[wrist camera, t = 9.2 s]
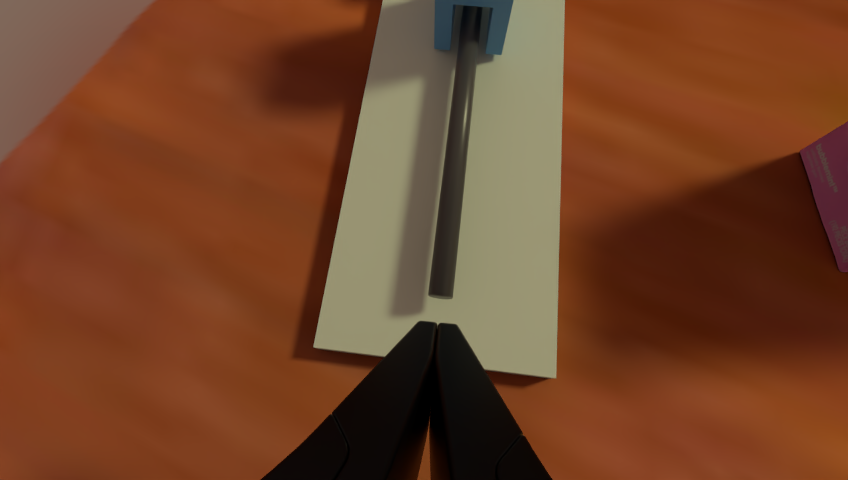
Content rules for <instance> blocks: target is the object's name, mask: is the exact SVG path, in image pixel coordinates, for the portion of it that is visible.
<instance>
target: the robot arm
mask: <svg viewBox="0 0 848 480" xmlns="http://www.w3.org/2000/svg"><path fill="white" fill-rule="evenodd" d="M430 409H431V410H430ZM429 419H430V425H429ZM428 426H429V441H430V472H431V480H552V478H551V477H550V475H549V474H548V472H547V471H546V469H545V468H544V466H543V465H542V463H541V461H540V460H539V458H538V457H537V455H536V454H535V452H534V451H533V449H532V447H531V446H530V444H529V442H528V440H527V439H526V437H525V436H524V435H523V433H522V431H521V429H520V428H519V426H518V424H517V423H516V421H515V419H514V418H513V416H512V414H511V413H510V411H509V409H508V408H507V406H506V404H505V403H504V401H503V399H502V398H501V396H500V394H499V393H498V391H497V389H496V388H495V386H494V384H493V383H492V381H491V380H490V378H489V376H488V375H487V373H486V371H485V370H484V368H483V366H482V365H481V363H480V361H479V360H478V358H477V356H476V355H475V353H474V351H473V350H472V348H471V346H470V345H469V343H468V341H467V340H466V338H465V336H464V335H463V333H462V331H461V330H460V328H459V327H458V325H457V324H451V323H439V324H438V328H437V323H436V322H430V321H418V322H417V323H416V324H415V325H414V326H413V327H412V328H411V329H410V331H409V332H408V333H407V334H406V335H405V336H404V337H403V338H402V339H401V340H400V341H399V342H398V343H397V344H396V345H395V346H394V347H393V348H392V350H391V351H390V352H389V353H388V354H387V355H386V356H385V357H384V358H383V359H382V360H381V361H380V362H379V363H378V364H377V365H376V366H375V368H374V369H373V370H372V371H371V372H370V373H369V374H368V375H367V376H366V377H365V378H364V379H363V380H362V381H361V382H360V383H359V384H358V386H357V387H356V388H355V389H354V390H353V391H352V392H351V393H350V394H349V395H348V396H347V397H346V398H345V399H344V400H343V401H342V402H341V404H340V405H339V406H338V407H337V408H336V409H335V410H334V411H333V412H332V414H330V415H329V416H328V417H327V418H326V419H325V420H324V421H323V422H322V423H321V424H320V425H319V427H318V428H317V429H316V430H315V431H314V432H313V433H312V434H311V435H310V436H309V437H308V438H307V439H306V440H305V441H304V442H302V443H301V444H300V445H299V446H298V447H297V448H296V449H295V450H294V451H293V452H292V453H291V454H289V455H288V456H287V457H286V458H285V459H284V460H283V461H282V462H280V463H279V464H278V465H277V466H276V467H275V468H274V469H273V470H271V471H270V472H269V473H268V474H267V475H265V476H264V477H263V478H262V479H261V480H417V478H418V473H419V469H420V464H421V460H422V455H423V451H424V446H425V442H426V437H427V432H428Z"/></svg>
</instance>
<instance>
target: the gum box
mask: <svg viewBox="0 0 848 480" xmlns="http://www.w3.org/2000/svg"><path fill="white" fill-rule="evenodd" d="M800 154H801V157H802V160H803V163H804V166H805V169H806V172H807V175H808V178H809V181H810V184H811V187H812V191H813V195H814V198H815V202H816V205H817V208H818V210H819V213H820V216H821V219H822V222H823V225H824V227H825V230H826V233H827V235H828V238H829V241H830V244H831V246H832V249H833V252H834V255H835V258H836V261H837V265H838V268H839V270H840V271H841V272H848V122H846V123H845V124H843V125H841V126H840V127H838V128H836V129H835V130H833V131H831V132H830V133H828V134H827V135H825V136H823V137H822V138H820V139H818V140H817V141H815V142H814V143H812V144H810V145H809V146H807V147H806V148H804V149H802V150H801V151H800Z"/></svg>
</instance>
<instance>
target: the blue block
mask: <svg viewBox="0 0 848 480" xmlns="http://www.w3.org/2000/svg"><path fill="white" fill-rule="evenodd" d="M513 1H514V0H435V22H434V49H440V50H450V47H451V39H452V32H453V24H454V16H455V8H456V5H466V6H478V7H490V11H489V21H488V32H487V42H486V53H485V54H495V55H502V51H503V46H504V42H505V37H506V33H507V28H508V23H509V19H510V14H511V10H512V5H513Z"/></svg>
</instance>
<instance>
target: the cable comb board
mask: <svg viewBox="0 0 848 480" xmlns="http://www.w3.org/2000/svg"><path fill="white" fill-rule="evenodd" d="M489 11H490V7H478V6H466V5H456V8H455V16H454V24H453V32H452V39H451V47H450V50H440V49H434V22H435V0H383V2H382V7H381V12H380V17H379V22H378V27H377V32H376V37H375V42H374V47H373V52H372V57H371V62H370V67H369V72H368V77H367V82H366V87H365V92H364V97H363V102H362V107H361V112H360V117H359V121H358V126H357V131H356V136H355V141H354V146H353V151H352V156H351V161H350V166H349V171H348V176H347V181H346V186H345V191H344V196H343V201H342V206H341V211H340V216H339V221H338V226H337V231H336V236H335V241H334V246H333V251H332V256H331V261H330V266H329V271H328V276H327V281H326V286H325V291H324V296H323V301H322V306H321V311H320V316H319V321H318V326H317V331H316V336H315V341H314V346H313V347H314V348H317V349H321V350H329V351H337V352H345V353H352V354H360V355H368V356H376V357H385V356H386V355H387V354H388V353H389V352H390V351H391V350H392V348H393V347H394V346H395V345H396V344H397V343H398V342H399V341H400V340H401V339H402V338H403V337H404V336H405V335H406V334H407V333H408V332H409V331H410V329H411V328H412V327H413V326H414V325H415V324H416V323H417V322H418V321H430V322H436V323H437V328H438V324H439V323H451V324H457V325H458V327H459V328H460V330H461V331H462V333H463V335H464V336H465V338H466V340H467V341H468V343H469V345H470V346H471V348H472V350H473V351H474V353H475V355H476V356H477V358H478V360H479V361H480V363H481V365H482V366H483V368H484V370H486V371H494V372H502V373H509V374H517V375H525V376H533V377H541V378H549V379H551V378H556V361H557V317H558V273H559V230H560V186H561V142H562V99H563V55H564V11H565V0H514V1H513V5H512V10H511V14H510V19H509V23H508V28H507V33H506V37H505V42H504V46H503V51H502V55H495V54H485V53H486V42H487V32H488V21H489Z"/></svg>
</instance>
